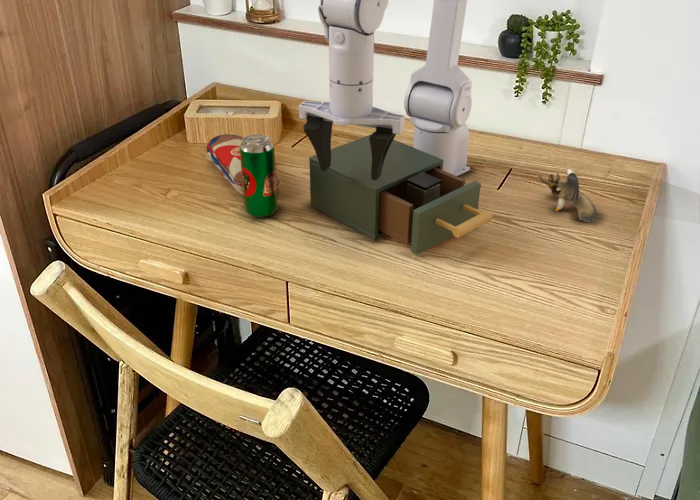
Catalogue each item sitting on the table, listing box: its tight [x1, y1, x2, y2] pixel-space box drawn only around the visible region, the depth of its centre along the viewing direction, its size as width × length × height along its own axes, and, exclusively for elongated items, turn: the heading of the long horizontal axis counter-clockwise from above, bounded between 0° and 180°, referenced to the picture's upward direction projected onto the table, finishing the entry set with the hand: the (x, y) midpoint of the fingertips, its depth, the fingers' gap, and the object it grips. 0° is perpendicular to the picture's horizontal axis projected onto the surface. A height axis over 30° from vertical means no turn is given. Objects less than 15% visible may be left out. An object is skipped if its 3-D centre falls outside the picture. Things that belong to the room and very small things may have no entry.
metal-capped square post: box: [406, 172, 442, 222], centre depth 103 cm, size 4×4×6 cm
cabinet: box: [308, 133, 443, 241], centre depth 110 cm, size 14×14×8 cm
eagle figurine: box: [537, 168, 598, 223], centre depth 111 cm, size 8×7×9 cm
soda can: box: [240, 133, 278, 219], centre depth 108 cm, size 5×5×12 cm
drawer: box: [378, 167, 493, 256], centre depth 103 cm, size 18×13×7 cm
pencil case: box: [205, 133, 281, 197], centre depth 120 cm, size 11×20×5 cm, turn 14°
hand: (350, 172), depth 100 cm, fingers open, 7 cm apart
